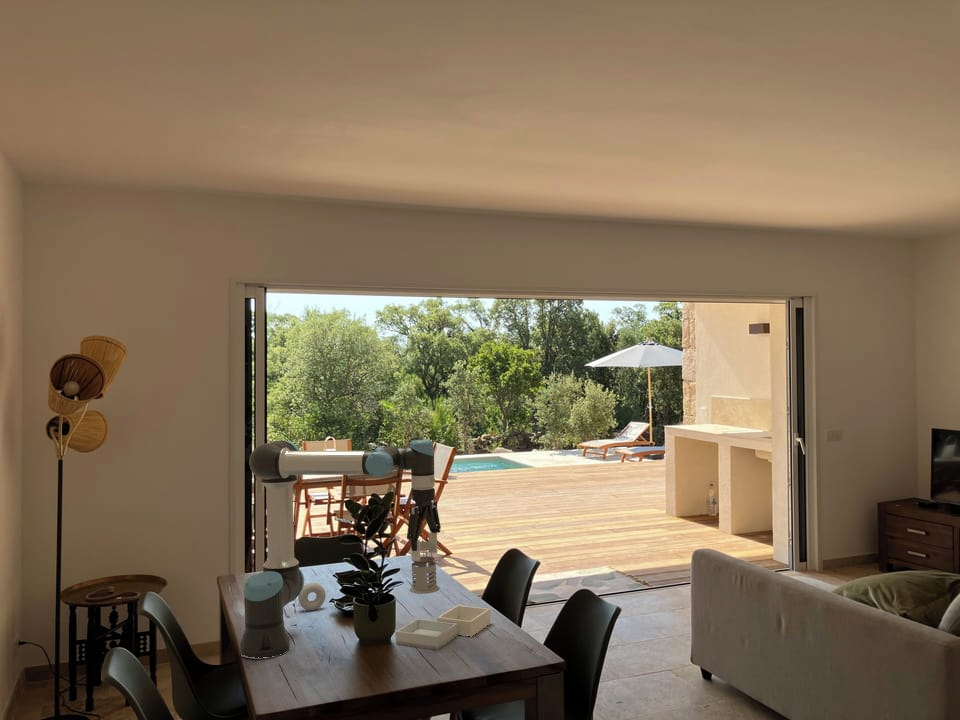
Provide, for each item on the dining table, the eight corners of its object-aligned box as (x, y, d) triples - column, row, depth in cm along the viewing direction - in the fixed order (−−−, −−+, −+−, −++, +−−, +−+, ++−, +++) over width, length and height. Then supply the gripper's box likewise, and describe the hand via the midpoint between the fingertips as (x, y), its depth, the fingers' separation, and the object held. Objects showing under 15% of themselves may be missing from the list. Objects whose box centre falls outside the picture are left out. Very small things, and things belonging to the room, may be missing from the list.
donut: (324, 607, 284) (324, 580, 284) (326, 609, 281) (326, 582, 281) (297, 611, 280) (297, 583, 280) (299, 613, 277) (298, 586, 277)
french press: (405, 593, 240) (402, 514, 241) (415, 583, 252) (413, 507, 252) (435, 594, 238) (432, 514, 239) (444, 583, 250) (441, 507, 250)
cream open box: (471, 637, 246) (471, 621, 246) (437, 632, 252) (436, 617, 252) (490, 623, 259) (490, 608, 259) (457, 619, 265) (457, 605, 265)
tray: (437, 650, 235) (437, 637, 235) (395, 643, 242) (395, 631, 242) (457, 636, 248) (457, 623, 248) (417, 630, 254) (417, 618, 254)
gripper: (415, 493, 234) (416, 565, 233) (450, 483, 255) (451, 549, 254) (394, 492, 237) (395, 563, 237) (430, 482, 258) (432, 548, 257)
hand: (424, 556), depth 245 cm, fingers closed on french press, 10 cm apart
